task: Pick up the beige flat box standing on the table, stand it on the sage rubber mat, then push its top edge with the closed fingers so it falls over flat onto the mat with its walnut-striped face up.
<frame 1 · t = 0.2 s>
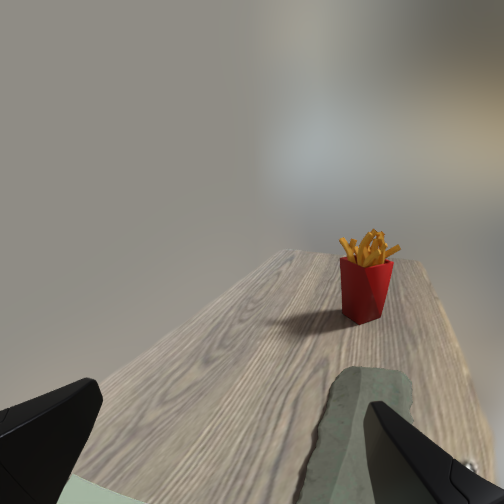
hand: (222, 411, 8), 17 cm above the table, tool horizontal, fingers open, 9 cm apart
french fries: (368, 317, 45), on the table
stone slab: (363, 447, 21), on the table
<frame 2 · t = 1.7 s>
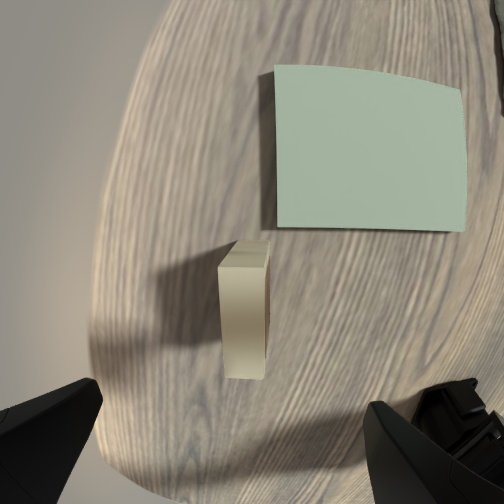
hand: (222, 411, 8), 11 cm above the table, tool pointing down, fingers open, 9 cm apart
beige flat box: (254, 285, 19), on the table
mat: (379, 148, 16), on the table
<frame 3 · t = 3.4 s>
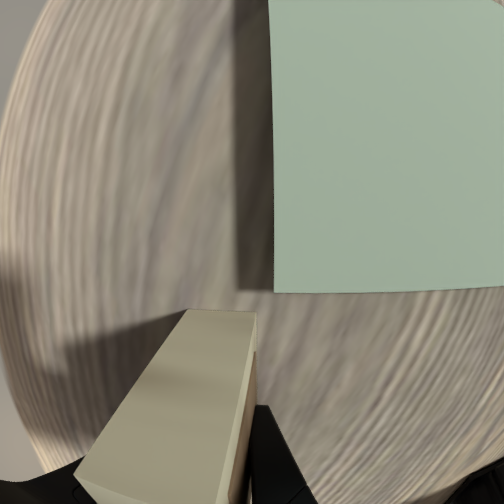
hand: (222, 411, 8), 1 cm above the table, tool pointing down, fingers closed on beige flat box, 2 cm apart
beige flat box: (226, 390, 9), on the table, touching gripper
mat: (480, 118, 6), on the table
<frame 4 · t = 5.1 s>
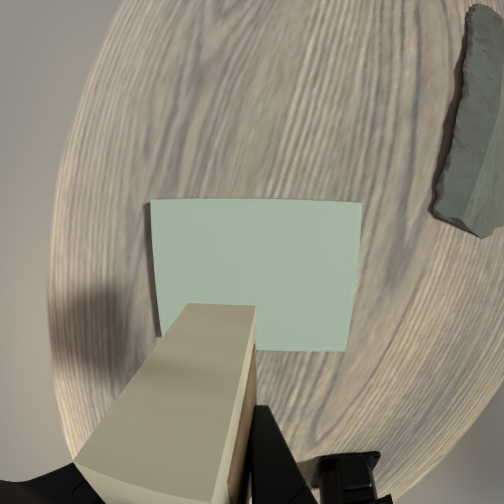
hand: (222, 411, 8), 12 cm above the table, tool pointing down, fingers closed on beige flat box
beige flat box: (226, 384, 9), point 10 cm above the table, touching gripper
stone slab: (496, 114, 15), on the table
mat: (253, 275, 19), on the table
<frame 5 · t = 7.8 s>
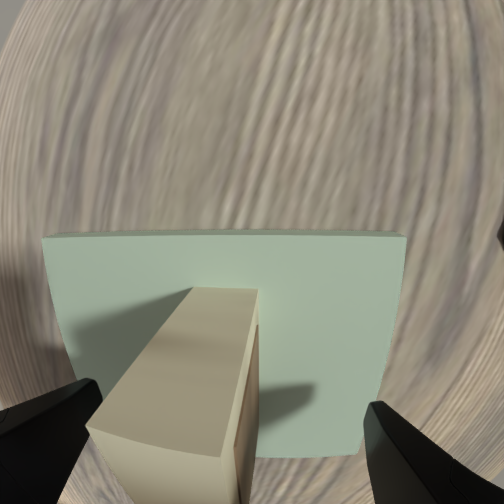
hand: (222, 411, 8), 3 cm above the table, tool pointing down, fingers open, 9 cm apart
beige flat box: (230, 368, 9), point 1 cm above the table, touching mat
mat: (209, 359, 11), on the table
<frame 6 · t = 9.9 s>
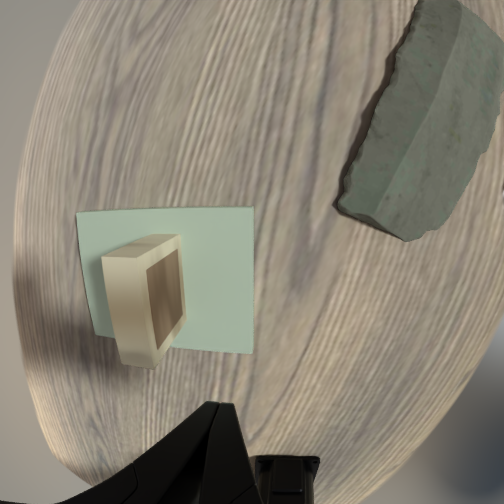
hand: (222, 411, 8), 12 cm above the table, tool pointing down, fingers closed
beige flat box: (169, 278, 19), point 1 cm above the table, touching mat
stone slab: (441, 106, 16), on the table
mat: (161, 278, 20), on the table
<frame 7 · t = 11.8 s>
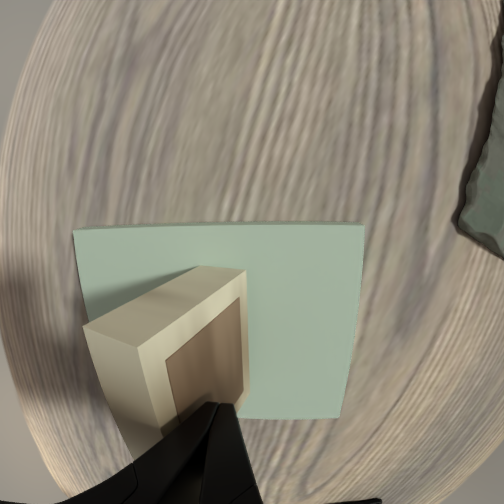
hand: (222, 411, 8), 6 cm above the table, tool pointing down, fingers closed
beige flat box: (226, 335, 12), point 1 cm above the table, tilted 16°, touching mat
mat: (211, 328, 13), on the table
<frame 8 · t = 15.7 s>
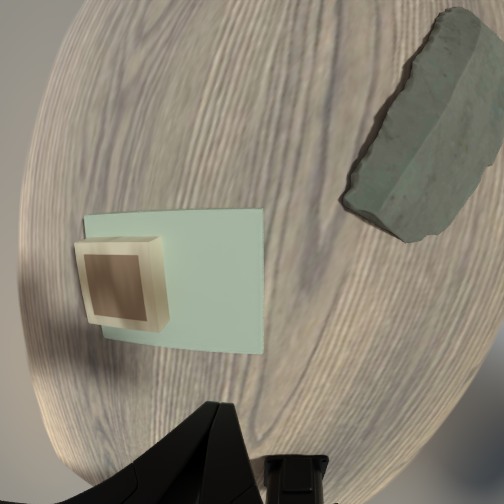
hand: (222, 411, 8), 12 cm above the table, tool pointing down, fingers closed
beige flat box: (159, 284, 18), point 2 cm above the table, tilted 90°, touching mat
stone slab: (452, 116, 16), on the table
mat: (171, 280, 20), on the table
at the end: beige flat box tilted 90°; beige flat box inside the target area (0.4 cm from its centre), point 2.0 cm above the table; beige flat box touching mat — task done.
